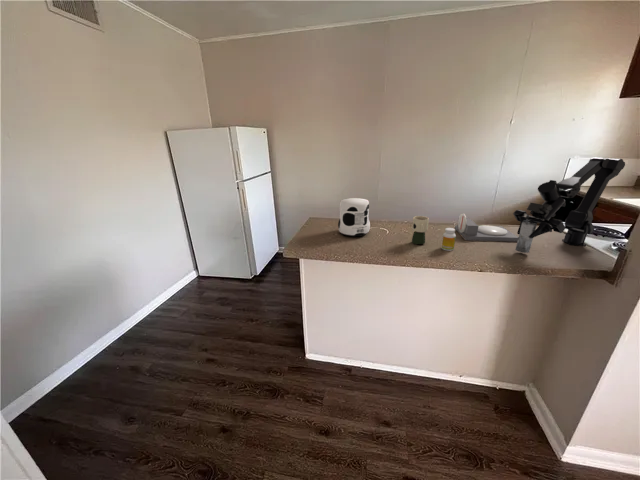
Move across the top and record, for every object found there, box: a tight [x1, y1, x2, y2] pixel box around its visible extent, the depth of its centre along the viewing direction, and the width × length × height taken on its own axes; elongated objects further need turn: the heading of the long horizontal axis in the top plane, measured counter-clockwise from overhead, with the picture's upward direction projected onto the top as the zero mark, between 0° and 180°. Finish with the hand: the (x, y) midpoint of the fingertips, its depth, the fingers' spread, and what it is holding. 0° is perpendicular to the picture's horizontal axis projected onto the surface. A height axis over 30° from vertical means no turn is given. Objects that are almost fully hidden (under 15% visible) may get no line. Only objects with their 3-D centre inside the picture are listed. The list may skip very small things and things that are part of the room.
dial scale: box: [454, 213, 519, 243], centre depth 140 cm, size 24×18×11 cm
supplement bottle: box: [440, 227, 457, 252], centre depth 124 cm, size 5×5×10 cm
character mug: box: [411, 215, 430, 245], centre depth 131 cm, size 11×7×13 cm, turn 169°
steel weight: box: [515, 220, 538, 254], centre depth 116 cm, size 5×5×13 cm
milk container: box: [337, 197, 371, 237], centre depth 146 cm, size 17×17×18 cm
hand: (523, 235), depth 115 cm, fingers closed on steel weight, 5 cm apart
